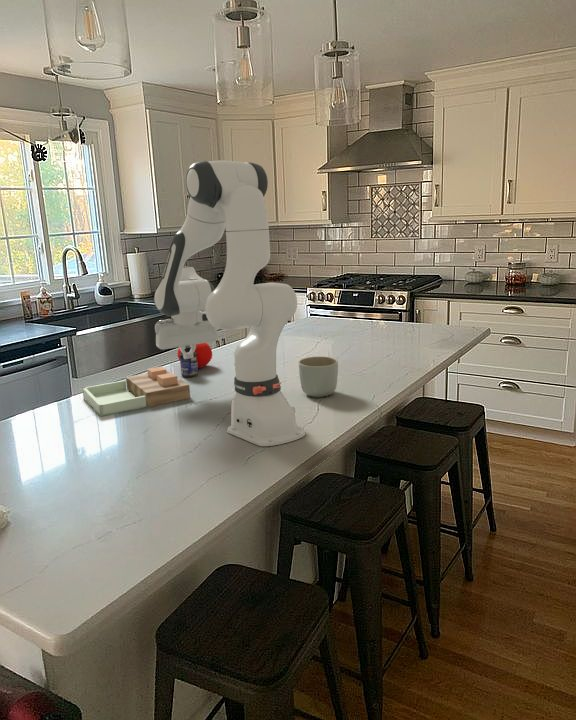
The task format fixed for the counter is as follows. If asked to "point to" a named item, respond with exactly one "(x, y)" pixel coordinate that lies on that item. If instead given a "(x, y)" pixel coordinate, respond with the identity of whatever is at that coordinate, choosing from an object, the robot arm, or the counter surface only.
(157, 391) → the board
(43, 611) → the counter surface
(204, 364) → the tomato
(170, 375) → the tile
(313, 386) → the planter
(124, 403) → the tray
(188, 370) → the pill bottle
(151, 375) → the tile
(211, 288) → the robot arm
